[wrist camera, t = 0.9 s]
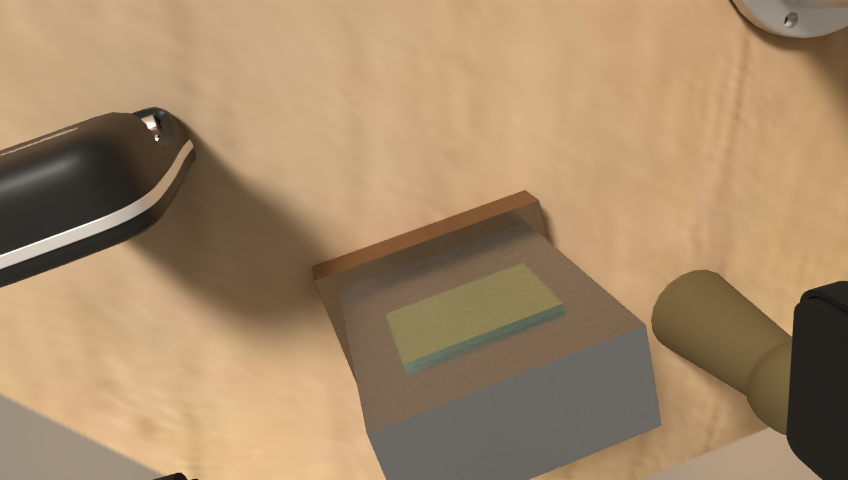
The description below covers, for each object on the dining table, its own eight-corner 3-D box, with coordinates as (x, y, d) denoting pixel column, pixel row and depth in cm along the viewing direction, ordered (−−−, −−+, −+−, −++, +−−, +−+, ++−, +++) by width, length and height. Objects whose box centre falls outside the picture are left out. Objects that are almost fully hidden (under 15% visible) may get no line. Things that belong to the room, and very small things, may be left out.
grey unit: (525, 190, 35) (666, 293, 22) (548, 291, 37) (685, 434, 25) (312, 266, 33) (330, 422, 21) (353, 364, 36) (390, 556, 23)
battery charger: (168, 83, 29) (101, 123, 18) (203, 156, 30) (161, 231, 20) (25, 133, 28) (-129, 204, 18) (69, 205, 30) (-49, 309, 19)
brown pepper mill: (634, 332, 40) (751, 438, 30) (685, 256, 39) (826, 340, 29) (696, 360, 42) (825, 468, 32) (747, 289, 41) (897, 379, 31)
